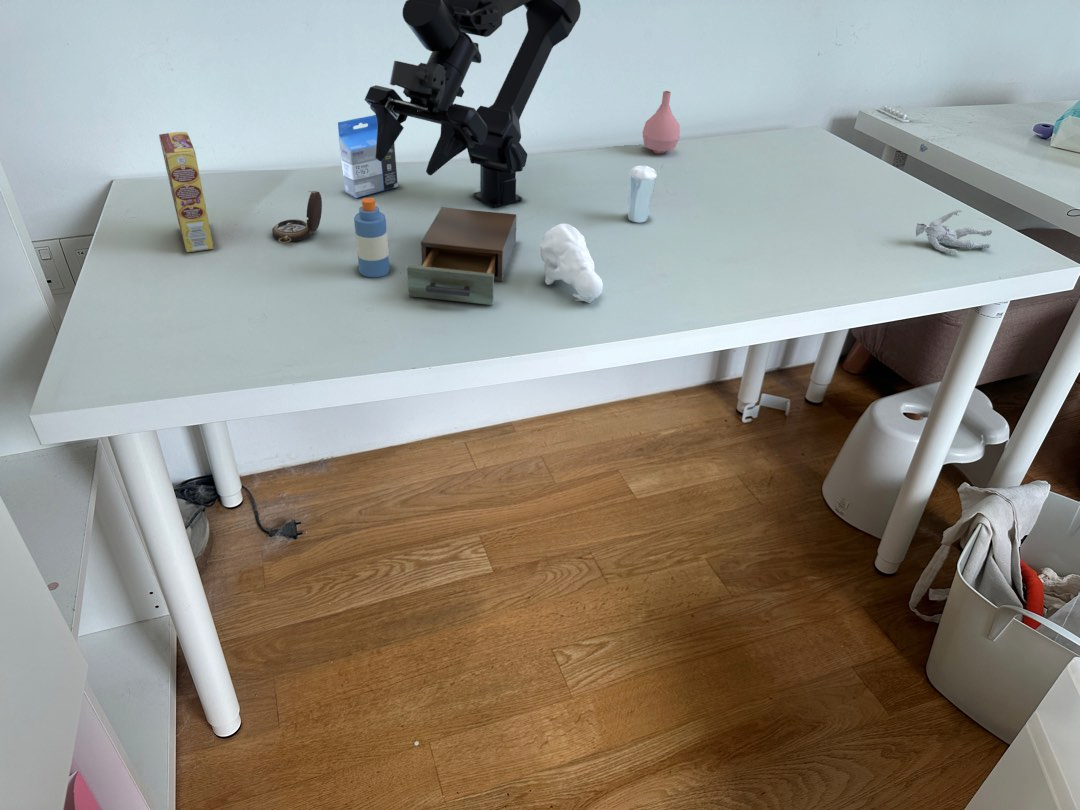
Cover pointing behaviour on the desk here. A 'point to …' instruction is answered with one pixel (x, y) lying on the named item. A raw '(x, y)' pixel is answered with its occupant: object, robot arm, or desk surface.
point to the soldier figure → (950, 235)
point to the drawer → (454, 276)
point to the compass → (301, 222)
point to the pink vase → (662, 128)
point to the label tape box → (364, 159)
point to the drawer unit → (473, 234)
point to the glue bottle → (371, 240)
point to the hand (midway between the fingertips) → (402, 166)
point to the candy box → (186, 190)
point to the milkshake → (640, 192)
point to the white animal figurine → (570, 261)
